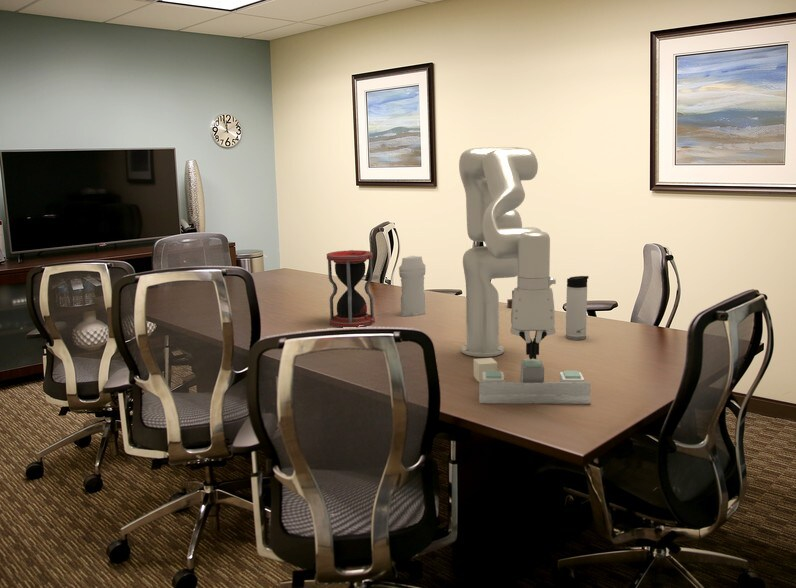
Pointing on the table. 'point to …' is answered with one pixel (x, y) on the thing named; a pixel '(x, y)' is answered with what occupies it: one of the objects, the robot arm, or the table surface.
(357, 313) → the hourglass
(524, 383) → the rail
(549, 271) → the robot arm
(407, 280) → the tall pale column
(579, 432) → the table surface
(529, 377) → the block
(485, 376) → the mounted modules
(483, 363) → the cream cube
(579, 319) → the travel mug
